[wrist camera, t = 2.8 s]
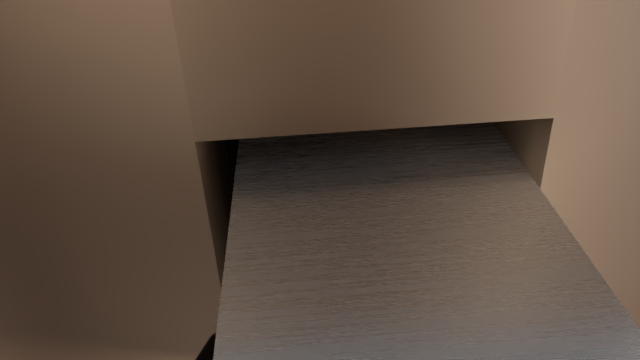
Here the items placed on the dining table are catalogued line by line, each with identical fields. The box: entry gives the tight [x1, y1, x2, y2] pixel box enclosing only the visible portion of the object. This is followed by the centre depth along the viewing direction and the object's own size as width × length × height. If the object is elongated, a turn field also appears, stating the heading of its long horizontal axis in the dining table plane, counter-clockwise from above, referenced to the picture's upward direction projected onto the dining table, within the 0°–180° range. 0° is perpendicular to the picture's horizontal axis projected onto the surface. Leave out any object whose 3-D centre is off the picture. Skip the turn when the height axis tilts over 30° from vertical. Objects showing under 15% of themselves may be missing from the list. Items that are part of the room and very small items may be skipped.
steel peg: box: [213, 122, 640, 360], centre depth 9 cm, size 4×4×8 cm
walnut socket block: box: [0, 0, 640, 360], centre depth 11 cm, size 16×12×3 cm
